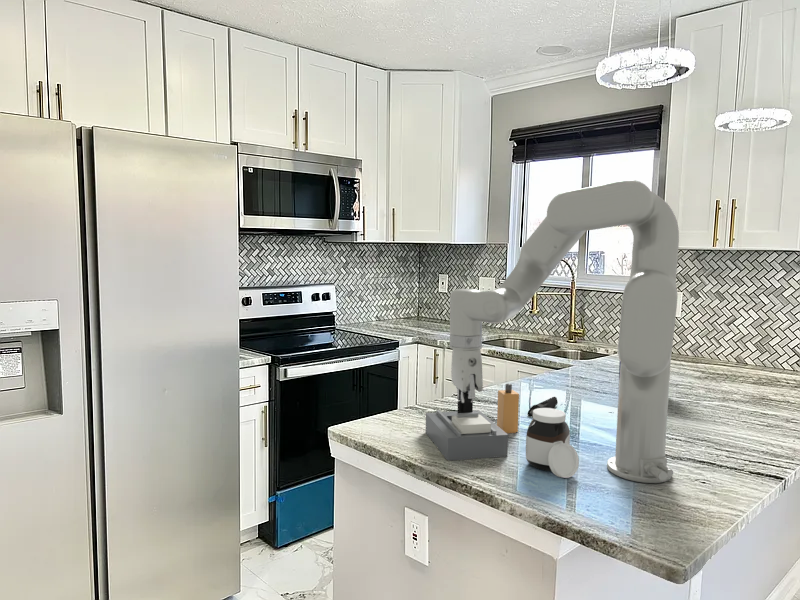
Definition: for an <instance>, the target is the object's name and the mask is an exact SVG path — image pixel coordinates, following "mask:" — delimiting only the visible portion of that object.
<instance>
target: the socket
mask: <svg viewBox="0 0 800 600" xmlns="http://www.w3.org/2000/svg"><path fill="white" fill-rule="evenodd" d="M473 412H478V415H481V416H483V417H484V418H485V419H486V420H487V421H488V422H490V423H491V432H489V433H472V434H461V432H460V431H459V430H458V429H457V428H456V427H455V426H454V425H453V424H452V416H457V413H458V410H457V411H441V410H440V409H436V412H426V413H425V434H426V435H427V436H428V438H429V437H430V438H429V439H430V440H431V442H432V443H433V442H434V443H433V444H434V445H435V447H436V446H437V447H438V448H437V447H436V448H437V449H438V451H439V452H440V453H441V454H442V456H443V455H444V456H443V457H444V458H445V460H446V459H447V460H449V461H459V460H462V459H463V460H476V458H478V459H489V458H490V459H491V458H492V459H493V458H503V457H504V458H505V457H508V450H509V449H508V448H509V433H505V432H504V431H503V430H502V429H501V428H500V427H498V426H497V423H495V422H494V421H493V420H491V419H490V418H489V417H488V416H487V415H485V413H483V412H482V411H480V410H477V409H475V410H473ZM447 460H446V461H447Z"/></svg>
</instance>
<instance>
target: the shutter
mask: <svg viewBox="0 0 800 600" xmlns="http://www.w3.org/2000/svg"><path fill="white" fill-rule="evenodd" d="M452 424H453V425H454V426H455V427H456V428H457V429H458V430H459V431H460V432H461V434H472V433H489V432H491V423H490V422H488V421H487V420H486V419H485V418H484V417H483V416H481V415H478V412H473V413H457V416H452Z"/></svg>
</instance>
